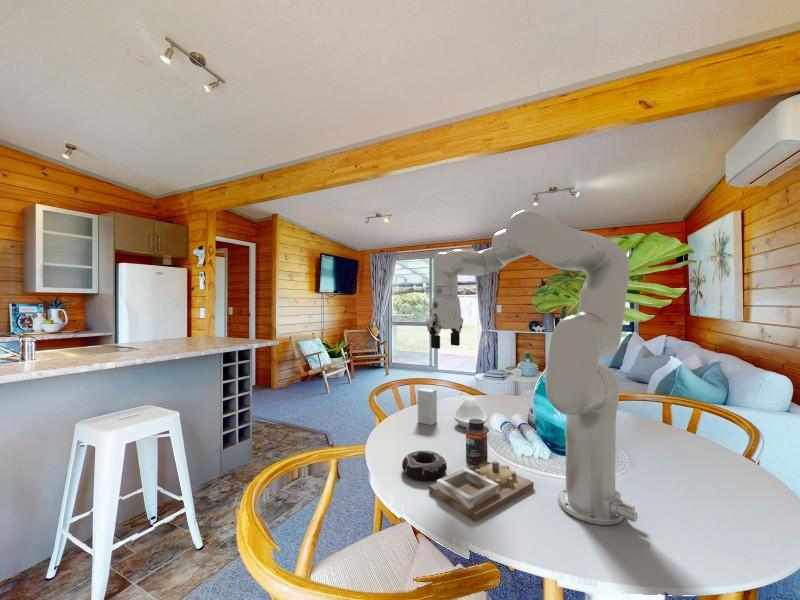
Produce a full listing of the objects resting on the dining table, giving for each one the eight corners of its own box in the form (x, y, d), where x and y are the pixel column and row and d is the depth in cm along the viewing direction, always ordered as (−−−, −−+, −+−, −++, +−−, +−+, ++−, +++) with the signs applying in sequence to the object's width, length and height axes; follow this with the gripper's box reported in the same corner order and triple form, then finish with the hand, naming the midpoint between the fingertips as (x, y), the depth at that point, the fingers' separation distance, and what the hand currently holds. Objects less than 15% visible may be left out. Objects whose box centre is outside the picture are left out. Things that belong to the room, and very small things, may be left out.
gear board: (533, 488, 86) (533, 467, 86) (475, 521, 73) (475, 497, 73) (486, 466, 97) (486, 448, 97) (429, 492, 84) (429, 471, 84)
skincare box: (437, 422, 132) (437, 389, 132) (431, 425, 128) (431, 392, 128) (422, 419, 135) (422, 387, 135) (417, 422, 131) (417, 390, 131)
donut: (400, 463, 99) (400, 449, 99) (442, 461, 100) (442, 447, 100) (404, 485, 88) (404, 468, 88) (451, 483, 88) (451, 467, 88)
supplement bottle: (485, 456, 103) (485, 417, 103) (489, 466, 97) (489, 424, 97) (464, 455, 103) (464, 416, 103) (466, 465, 97) (466, 424, 97)
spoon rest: (488, 433, 121) (488, 412, 121) (454, 431, 123) (454, 410, 123) (482, 411, 145) (482, 394, 145) (453, 410, 146) (453, 393, 146)
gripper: (436, 292, 104) (436, 350, 104) (471, 292, 116) (471, 345, 116) (418, 292, 109) (418, 348, 109) (453, 293, 121) (453, 343, 121)
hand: (445, 346), depth 112 cm, fingers open, 9 cm apart
